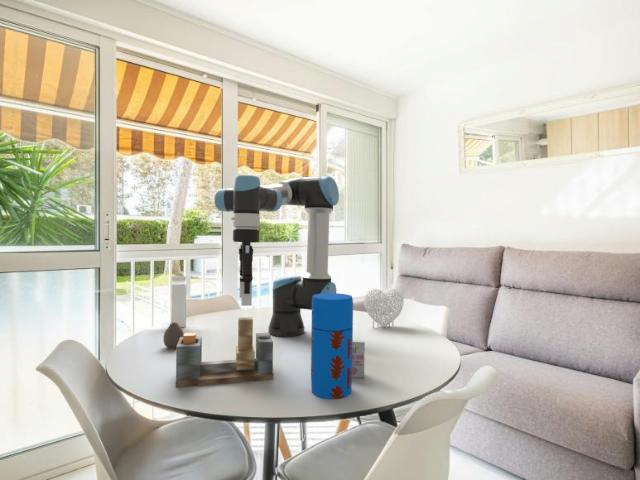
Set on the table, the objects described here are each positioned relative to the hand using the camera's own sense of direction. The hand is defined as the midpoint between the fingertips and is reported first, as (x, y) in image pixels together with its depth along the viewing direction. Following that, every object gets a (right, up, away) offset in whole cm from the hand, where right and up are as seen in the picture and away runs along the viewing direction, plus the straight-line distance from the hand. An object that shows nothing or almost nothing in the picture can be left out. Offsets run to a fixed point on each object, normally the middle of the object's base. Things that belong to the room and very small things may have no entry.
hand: (245, 301), depth 112 cm
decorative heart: (+50, -21, +60) cm, 81 cm away
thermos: (+25, -22, -11) cm, 35 cm away
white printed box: (+31, -22, 0) cm, 38 cm away
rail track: (-5, -21, -1) cm, 22 cm away
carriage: (0, -19, 0) cm, 19 cm away
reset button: (-15, -11, -3) cm, 19 cm away
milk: (-41, -20, +57) cm, 73 cm away
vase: (-31, -21, +26) cm, 45 cm away
